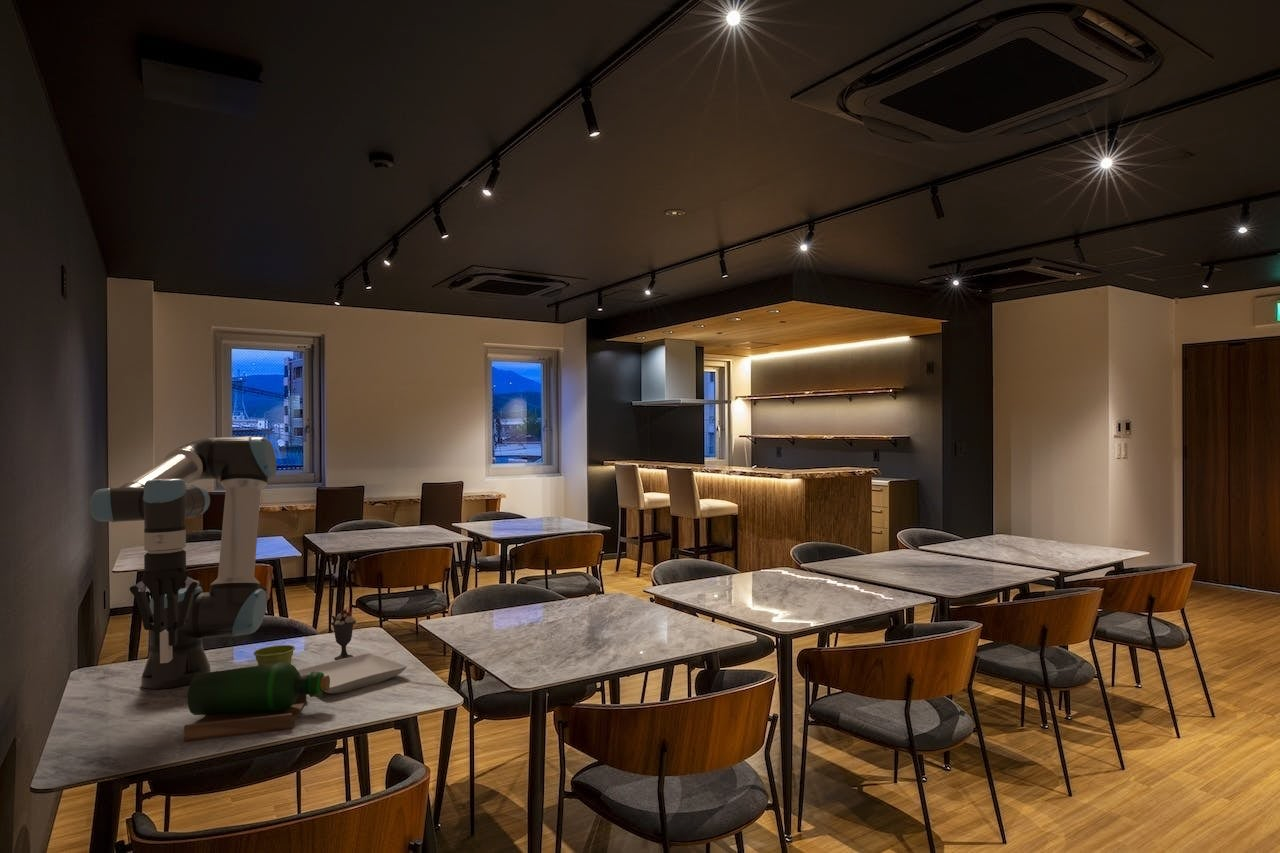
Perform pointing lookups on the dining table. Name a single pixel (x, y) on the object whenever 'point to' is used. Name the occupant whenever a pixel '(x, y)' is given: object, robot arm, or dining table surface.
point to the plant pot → (274, 654)
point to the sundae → (343, 631)
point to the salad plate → (356, 672)
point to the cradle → (243, 723)
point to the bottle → (252, 689)
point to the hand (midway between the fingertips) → (166, 661)
